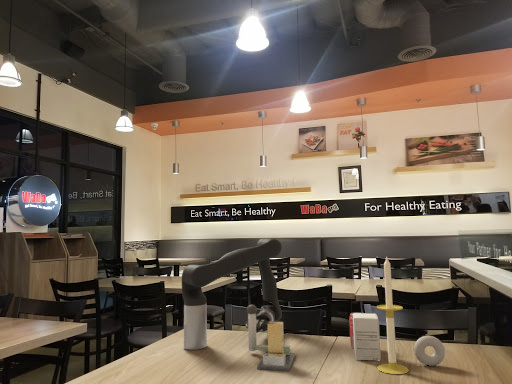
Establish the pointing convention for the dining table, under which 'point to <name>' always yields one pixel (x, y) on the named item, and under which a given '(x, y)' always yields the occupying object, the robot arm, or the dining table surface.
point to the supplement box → (366, 336)
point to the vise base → (287, 368)
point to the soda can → (351, 330)
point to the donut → (432, 359)
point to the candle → (390, 326)
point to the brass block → (275, 338)
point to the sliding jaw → (252, 332)
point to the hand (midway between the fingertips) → (255, 330)
